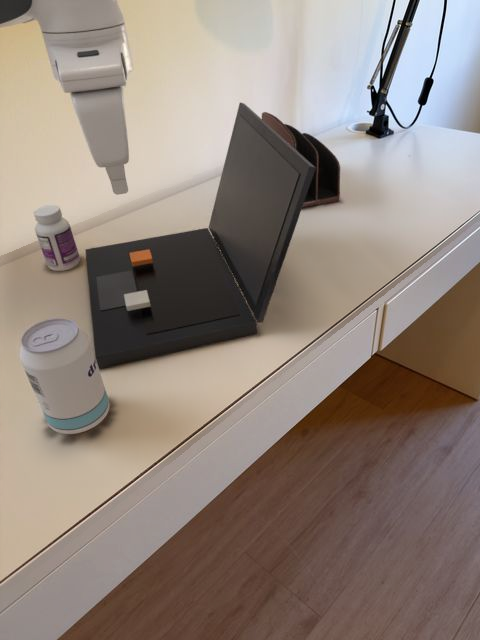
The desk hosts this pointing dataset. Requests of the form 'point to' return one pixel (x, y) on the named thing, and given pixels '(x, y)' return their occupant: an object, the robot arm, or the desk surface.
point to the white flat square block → (137, 300)
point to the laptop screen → (258, 206)
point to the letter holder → (312, 162)
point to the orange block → (141, 257)
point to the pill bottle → (56, 238)
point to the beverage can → (64, 375)
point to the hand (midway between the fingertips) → (119, 178)
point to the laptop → (164, 298)
